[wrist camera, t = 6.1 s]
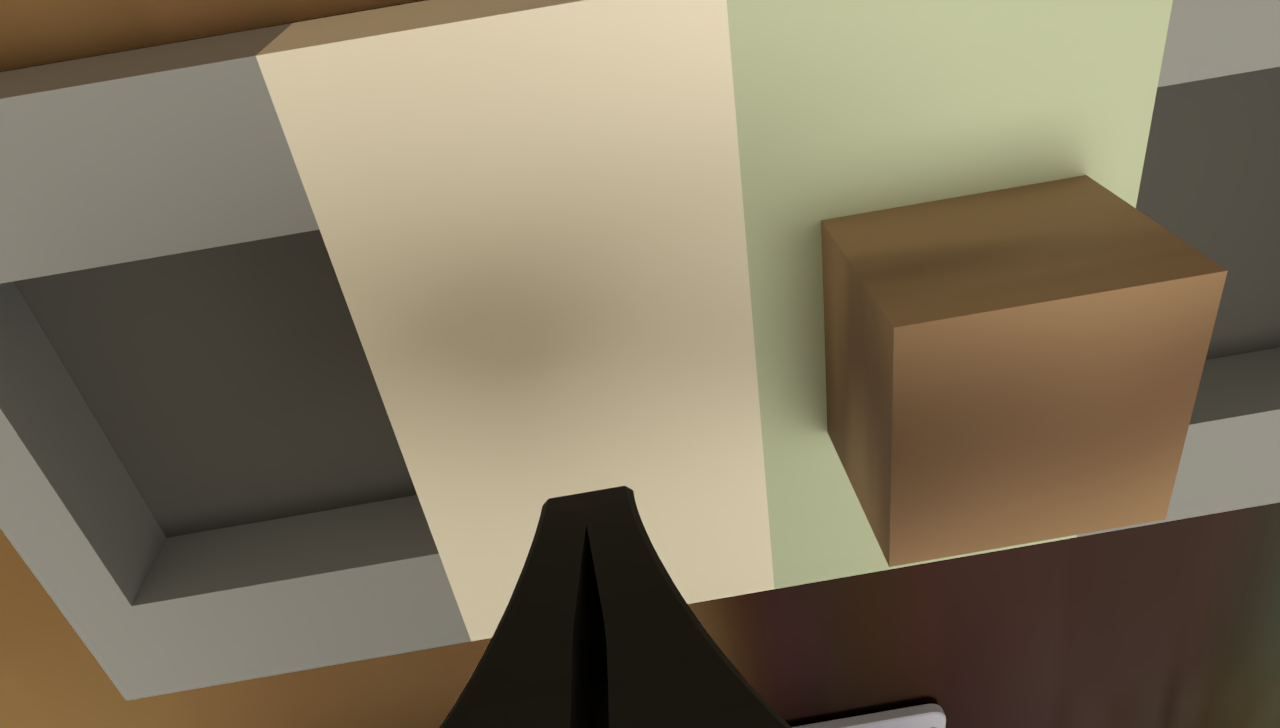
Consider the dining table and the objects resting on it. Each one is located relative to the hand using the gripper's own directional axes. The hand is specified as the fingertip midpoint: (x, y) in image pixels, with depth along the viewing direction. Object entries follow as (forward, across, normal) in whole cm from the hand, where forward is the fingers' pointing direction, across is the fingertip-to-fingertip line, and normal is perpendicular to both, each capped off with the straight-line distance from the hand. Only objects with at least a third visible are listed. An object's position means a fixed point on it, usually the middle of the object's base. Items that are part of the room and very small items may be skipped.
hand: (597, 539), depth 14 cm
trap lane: (+7, -4, 0) cm, 8 cm away
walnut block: (+4, -7, 0) cm, 9 cm away
